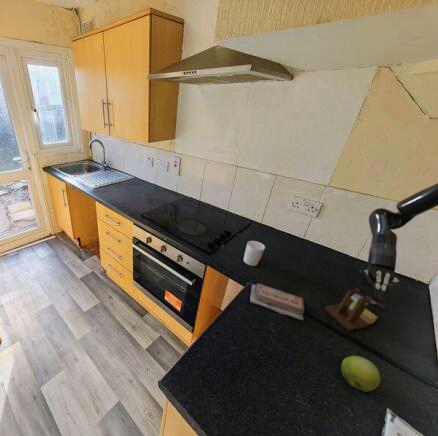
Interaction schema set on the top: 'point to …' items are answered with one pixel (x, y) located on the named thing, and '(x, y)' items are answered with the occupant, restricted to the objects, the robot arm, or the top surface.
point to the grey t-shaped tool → (378, 304)
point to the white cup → (253, 252)
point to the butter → (365, 314)
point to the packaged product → (277, 301)
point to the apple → (360, 373)
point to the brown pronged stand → (349, 311)
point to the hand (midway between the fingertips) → (377, 299)
